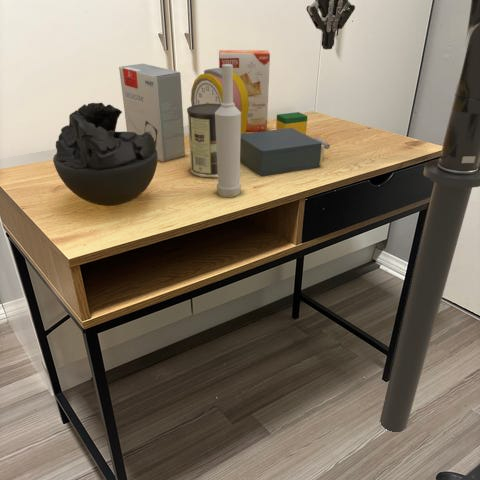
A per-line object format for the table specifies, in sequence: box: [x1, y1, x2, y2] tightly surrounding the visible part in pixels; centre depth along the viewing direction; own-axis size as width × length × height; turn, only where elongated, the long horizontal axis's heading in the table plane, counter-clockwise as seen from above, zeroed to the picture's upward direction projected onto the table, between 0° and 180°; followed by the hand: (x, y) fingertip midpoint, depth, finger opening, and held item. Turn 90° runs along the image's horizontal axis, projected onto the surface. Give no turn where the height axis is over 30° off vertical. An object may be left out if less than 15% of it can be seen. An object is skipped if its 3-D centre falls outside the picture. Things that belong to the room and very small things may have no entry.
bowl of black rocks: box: [52, 102, 158, 207], centre depth 100 cm, size 20×20×19 cm
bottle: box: [215, 64, 242, 198], centre depth 102 cm, size 5×5×25 cm
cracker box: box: [218, 49, 271, 132], centre depth 145 cm, size 14×6×21 cm, turn 92°
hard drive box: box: [118, 63, 186, 163], centre depth 127 cm, size 16×8×20 cm, turn 44°
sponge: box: [275, 111, 308, 135], centre depth 143 cm, size 7×5×6 cm
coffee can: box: [186, 104, 221, 178], centre depth 117 cm, size 10×10×14 cm
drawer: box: [313, 137, 331, 163], centre depth 126 cm, size 19×14×4 cm
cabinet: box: [240, 128, 322, 177], centre depth 125 cm, size 16×15×6 cm
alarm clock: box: [190, 67, 249, 134], centre depth 136 cm, size 15×8×18 cm, turn 42°
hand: (327, 48), depth 128 cm, fingers closed
